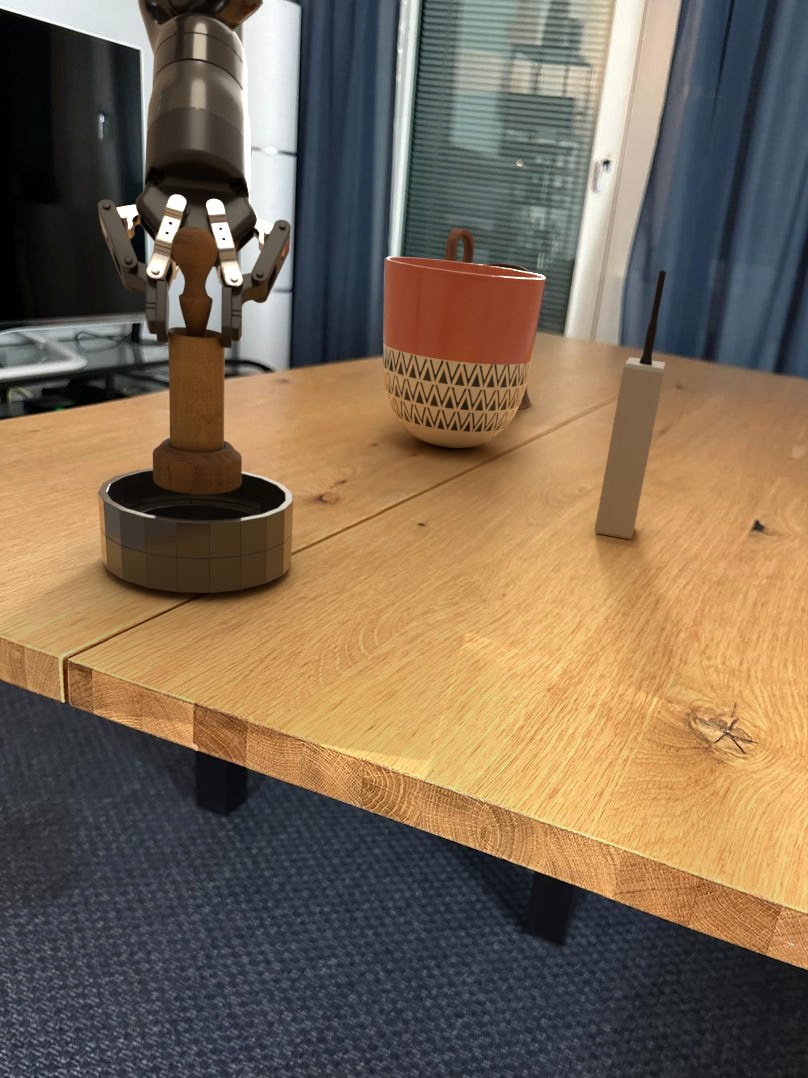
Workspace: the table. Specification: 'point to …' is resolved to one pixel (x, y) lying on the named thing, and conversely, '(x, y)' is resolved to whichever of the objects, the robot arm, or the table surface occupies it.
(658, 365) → the vintage mobile phone
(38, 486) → the table surface
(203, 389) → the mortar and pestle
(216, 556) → the bowl
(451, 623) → the table surface
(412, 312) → the planter
